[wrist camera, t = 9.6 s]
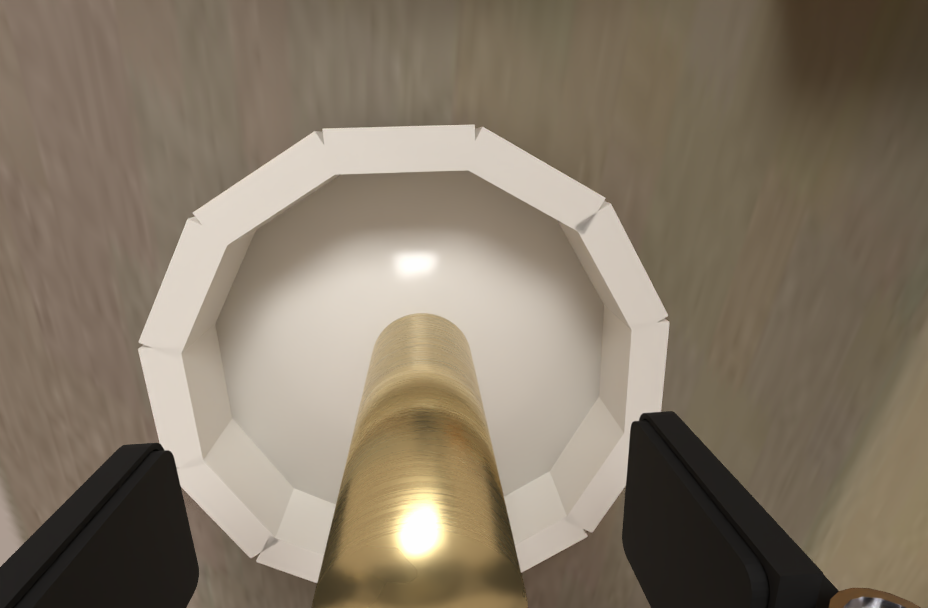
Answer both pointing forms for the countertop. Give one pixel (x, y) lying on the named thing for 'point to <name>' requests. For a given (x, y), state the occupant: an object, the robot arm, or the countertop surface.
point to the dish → (385, 300)
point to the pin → (420, 485)
